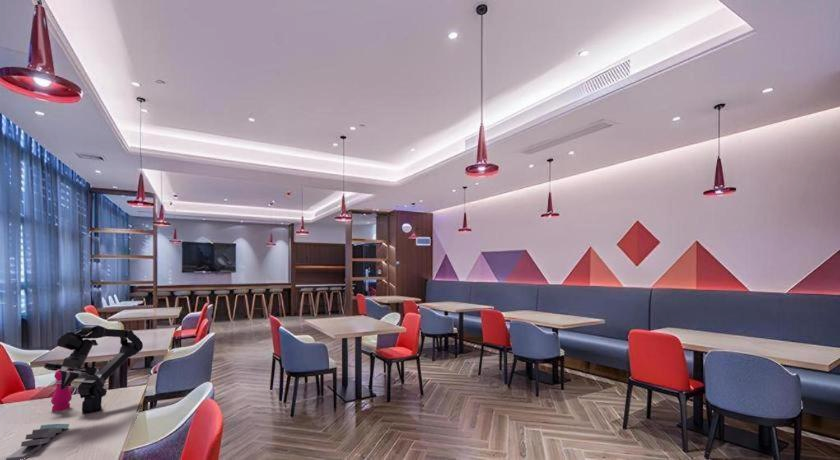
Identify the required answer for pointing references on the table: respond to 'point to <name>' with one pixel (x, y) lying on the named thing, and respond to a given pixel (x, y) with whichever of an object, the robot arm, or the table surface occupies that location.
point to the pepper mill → (60, 395)
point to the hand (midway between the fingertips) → (62, 389)
